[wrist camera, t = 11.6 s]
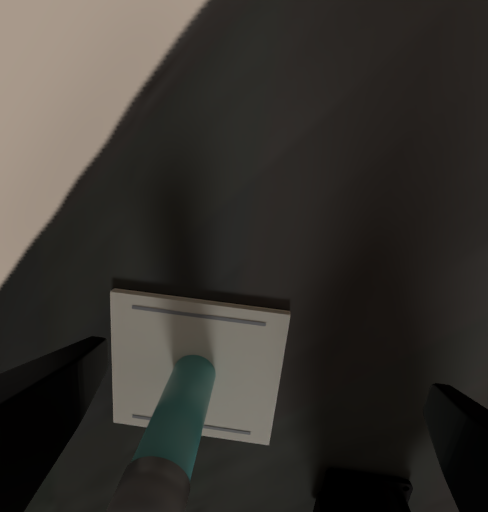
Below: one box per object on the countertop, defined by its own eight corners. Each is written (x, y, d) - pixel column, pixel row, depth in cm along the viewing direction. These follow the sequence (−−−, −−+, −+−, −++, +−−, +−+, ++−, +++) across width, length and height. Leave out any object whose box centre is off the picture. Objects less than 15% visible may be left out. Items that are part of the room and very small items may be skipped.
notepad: (289, 310, 21) (290, 315, 21) (268, 438, 25) (268, 446, 24) (114, 288, 22) (109, 292, 21) (116, 416, 25) (113, 423, 25)
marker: (218, 356, 22) (180, 507, 13) (215, 394, 23) (177, 561, 14) (173, 350, 22) (101, 495, 13) (171, 388, 23) (103, 548, 14)
